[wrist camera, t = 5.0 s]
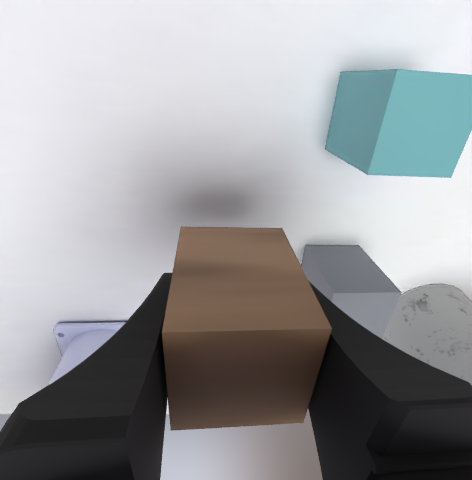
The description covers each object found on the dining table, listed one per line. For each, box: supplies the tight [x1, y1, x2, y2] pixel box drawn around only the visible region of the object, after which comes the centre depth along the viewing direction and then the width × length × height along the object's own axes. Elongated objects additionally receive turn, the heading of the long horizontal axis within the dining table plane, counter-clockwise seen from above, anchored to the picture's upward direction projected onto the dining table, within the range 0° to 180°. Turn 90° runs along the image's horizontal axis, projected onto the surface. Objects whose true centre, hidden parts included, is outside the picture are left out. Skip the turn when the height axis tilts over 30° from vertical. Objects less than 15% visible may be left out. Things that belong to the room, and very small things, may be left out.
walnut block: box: [162, 227, 332, 430], centre depth 11 cm, size 4×4×6 cm
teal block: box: [325, 69, 472, 178], centre depth 16 cm, size 4×4×6 cm
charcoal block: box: [301, 245, 401, 339], centre depth 22 cm, size 4×4×6 cm
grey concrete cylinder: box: [382, 284, 472, 385], centre depth 23 cm, size 10×10×12 cm
